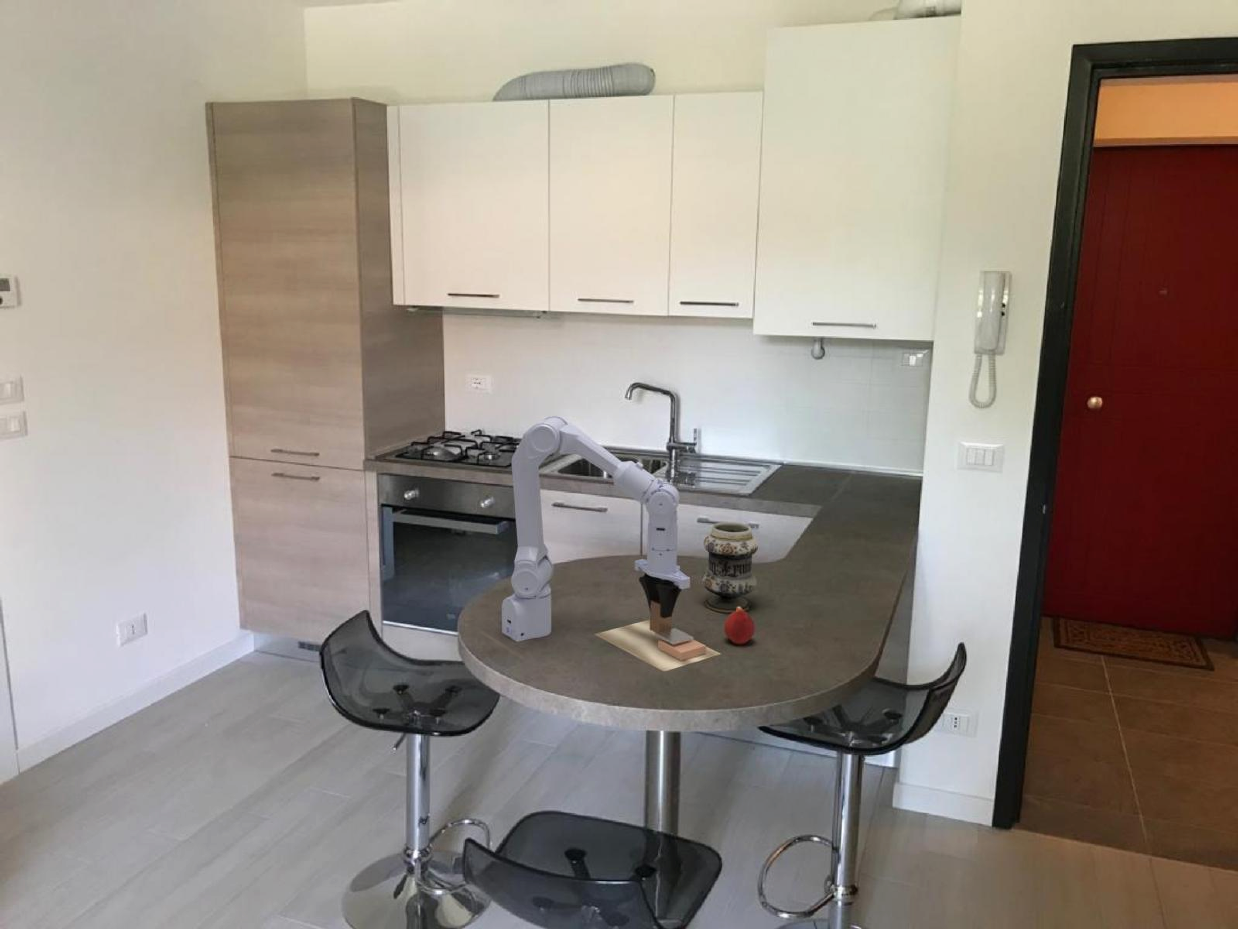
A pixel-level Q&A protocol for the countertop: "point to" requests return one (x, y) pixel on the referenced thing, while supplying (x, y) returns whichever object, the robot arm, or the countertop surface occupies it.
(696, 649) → the tile
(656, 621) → the bookend
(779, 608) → the countertop surface
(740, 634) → the onion
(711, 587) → the apothecary jar
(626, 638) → the board
